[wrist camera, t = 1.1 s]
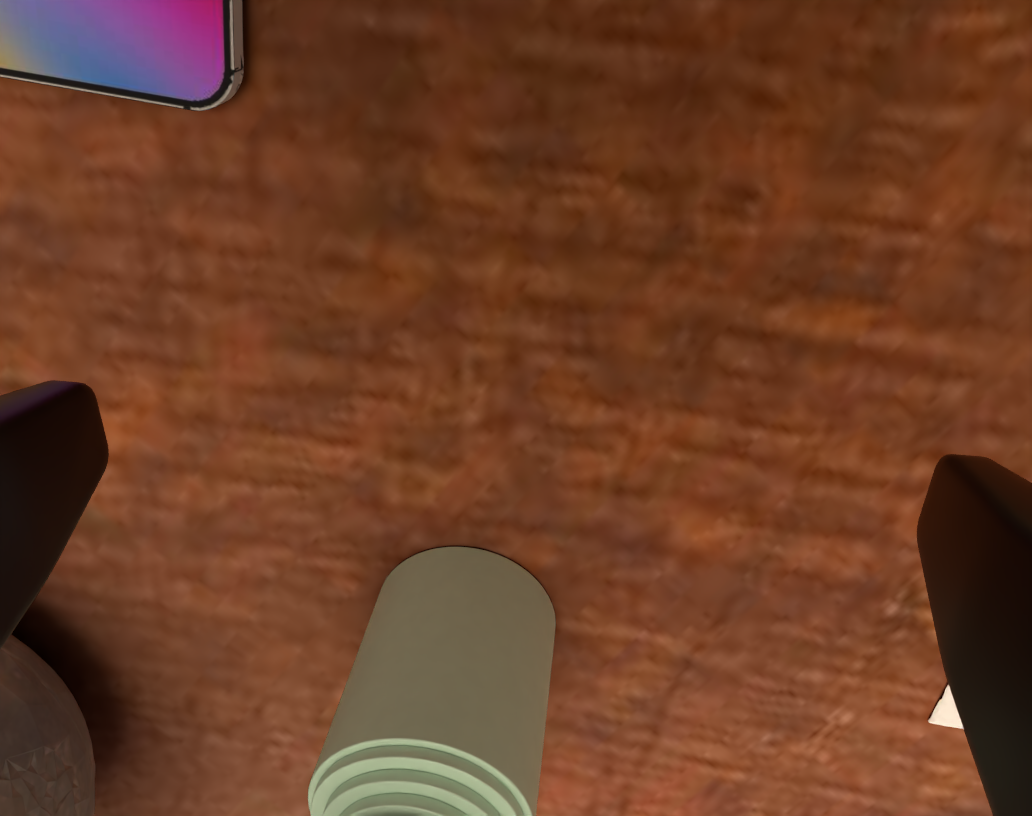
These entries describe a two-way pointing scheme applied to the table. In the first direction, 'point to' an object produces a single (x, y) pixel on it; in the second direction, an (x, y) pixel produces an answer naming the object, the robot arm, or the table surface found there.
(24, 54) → the smartphone
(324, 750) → the bottle
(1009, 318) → the table surface
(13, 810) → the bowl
